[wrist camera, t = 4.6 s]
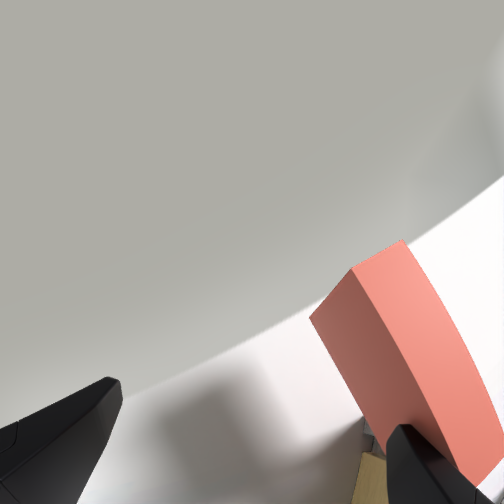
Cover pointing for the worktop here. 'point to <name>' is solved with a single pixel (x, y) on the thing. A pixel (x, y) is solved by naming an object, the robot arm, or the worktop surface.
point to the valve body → (371, 475)
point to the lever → (409, 361)
